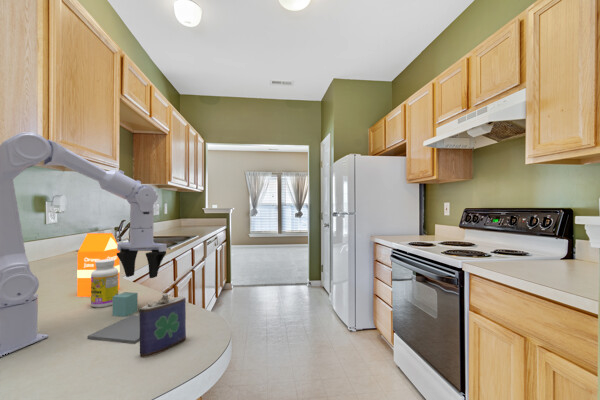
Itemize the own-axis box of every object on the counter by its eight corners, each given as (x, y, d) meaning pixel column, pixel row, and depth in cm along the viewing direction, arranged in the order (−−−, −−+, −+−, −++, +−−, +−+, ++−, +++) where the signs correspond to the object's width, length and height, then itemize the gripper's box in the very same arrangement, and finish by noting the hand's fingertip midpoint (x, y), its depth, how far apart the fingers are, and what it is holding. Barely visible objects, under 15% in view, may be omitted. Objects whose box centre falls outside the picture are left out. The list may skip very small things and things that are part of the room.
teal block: (125, 316, 72) (125, 297, 72) (112, 315, 73) (112, 296, 73) (137, 311, 76) (137, 292, 76) (125, 310, 77) (125, 292, 77)
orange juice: (103, 296, 89) (104, 234, 90) (76, 296, 89) (77, 234, 90) (119, 289, 97) (120, 232, 97) (95, 289, 97) (95, 232, 98)
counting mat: (134, 343, 57) (134, 340, 57) (87, 338, 60) (87, 335, 60) (172, 320, 69) (172, 318, 69) (131, 317, 72) (131, 314, 72)
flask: (181, 336, 61) (181, 286, 61) (189, 340, 59) (189, 289, 59) (136, 354, 53) (136, 298, 53) (144, 359, 51) (144, 301, 52)
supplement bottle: (86, 306, 80) (86, 261, 81) (110, 299, 86) (110, 257, 87) (98, 309, 77) (98, 263, 78) (123, 302, 83) (123, 259, 84)
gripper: (173, 227, 80) (173, 274, 80) (131, 227, 83) (131, 272, 83) (156, 229, 73) (156, 280, 73) (110, 228, 77) (110, 278, 76)
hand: (141, 276), depth 78 cm, fingers open, 7 cm apart
